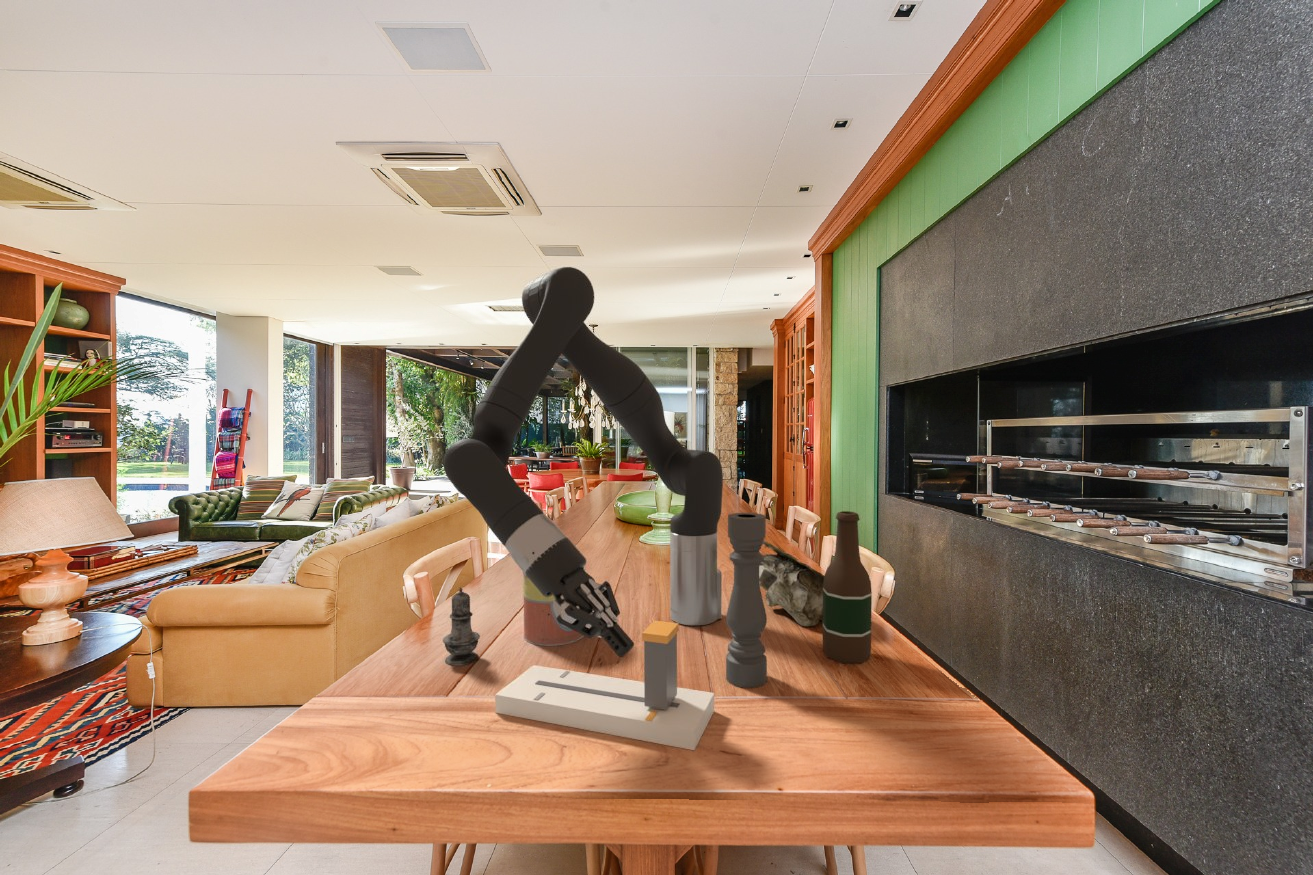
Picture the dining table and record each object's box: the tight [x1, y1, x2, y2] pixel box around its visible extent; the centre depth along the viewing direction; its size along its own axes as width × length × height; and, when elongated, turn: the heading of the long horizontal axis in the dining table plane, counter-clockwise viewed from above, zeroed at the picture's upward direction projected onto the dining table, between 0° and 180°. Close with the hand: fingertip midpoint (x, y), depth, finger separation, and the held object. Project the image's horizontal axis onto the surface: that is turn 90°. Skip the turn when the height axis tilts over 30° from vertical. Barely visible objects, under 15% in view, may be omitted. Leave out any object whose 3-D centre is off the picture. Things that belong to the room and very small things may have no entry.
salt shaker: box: [442, 586, 481, 667], centre depth 99 cm, size 6×6×12 cm
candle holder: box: [725, 512, 768, 689], centre depth 91 cm, size 6×6×25 cm
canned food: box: [522, 566, 586, 647], centre depth 110 cm, size 11×11×12 cm
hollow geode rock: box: [759, 540, 825, 627], centre depth 125 cm, size 28×13×15 cm
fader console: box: [494, 664, 715, 751], centre depth 81 cm, size 28×10×3 cm, turn 71°
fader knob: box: [641, 620, 680, 710], centre depth 78 cm, size 3×5×10 cm
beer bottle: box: [822, 510, 873, 665], centre depth 100 cm, size 8×8×24 cm
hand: (628, 651), depth 80 cm, fingers closed
